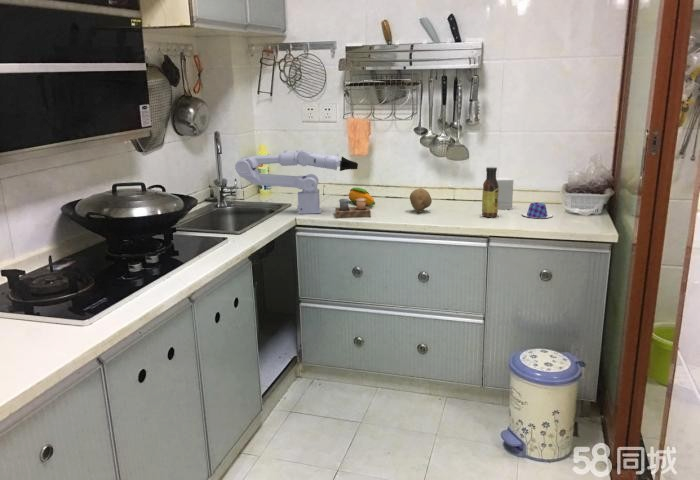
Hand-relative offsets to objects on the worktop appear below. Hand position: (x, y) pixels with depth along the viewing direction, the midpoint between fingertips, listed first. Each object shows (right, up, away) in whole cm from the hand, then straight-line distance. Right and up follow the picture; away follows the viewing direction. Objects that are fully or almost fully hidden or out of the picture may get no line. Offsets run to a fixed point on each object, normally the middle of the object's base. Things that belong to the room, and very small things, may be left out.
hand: (357, 166), depth 247 cm
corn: (+3, -15, +18) cm, 24 cm away
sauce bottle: (+54, -21, -8) cm, 58 cm away
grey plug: (-6, -18, -3) cm, 19 cm away
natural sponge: (+27, -19, +2) cm, 33 cm away
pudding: (+73, -22, -8) cm, 76 cm away
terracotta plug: (+1, -18, -3) cm, 18 cm away
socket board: (-2, -21, -2) cm, 21 cm away
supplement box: (+62, -17, +7) cm, 65 cm away
